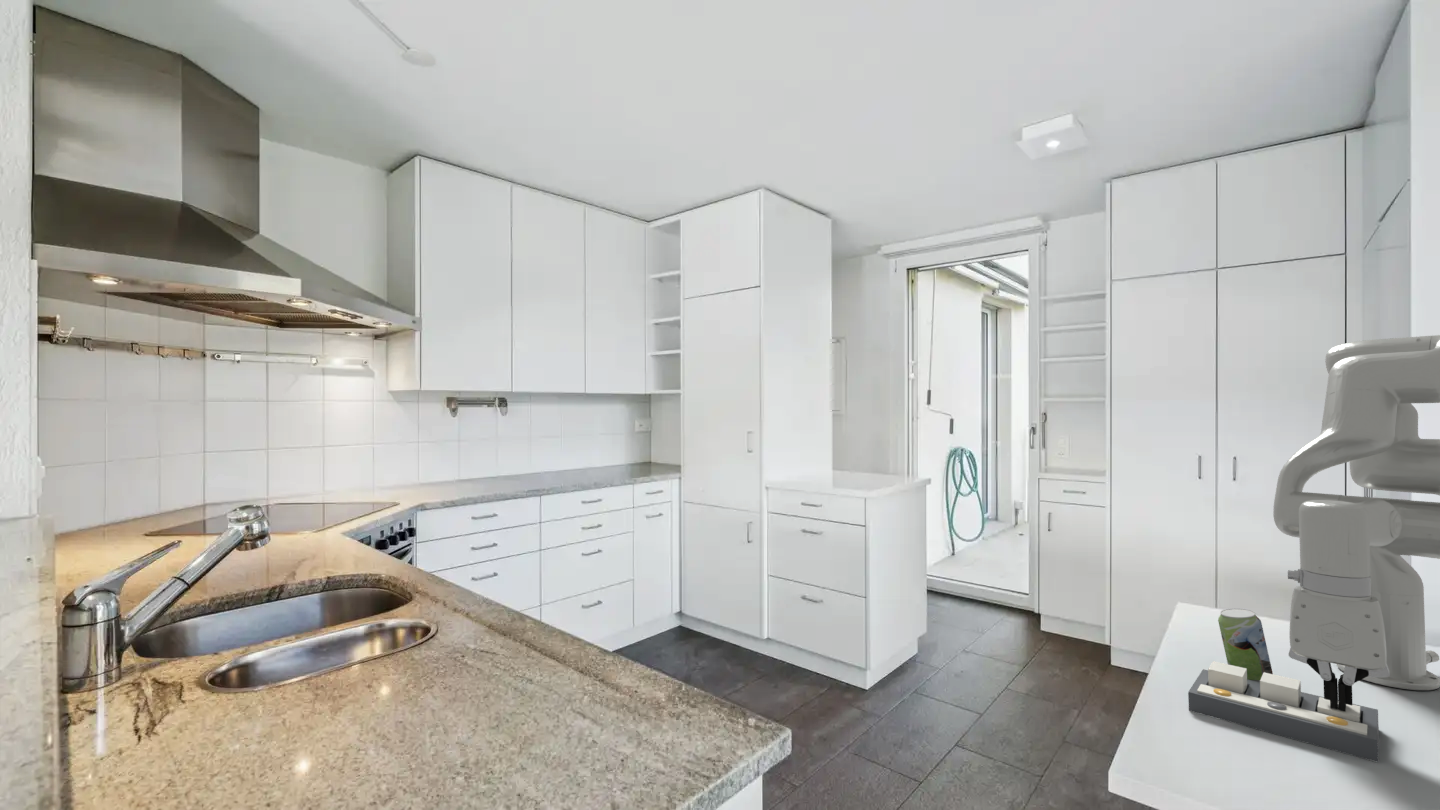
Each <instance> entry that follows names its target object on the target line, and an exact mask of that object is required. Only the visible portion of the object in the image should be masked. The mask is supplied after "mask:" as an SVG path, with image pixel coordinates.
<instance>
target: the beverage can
mask: <svg viewBox="0 0 1440 810" xmlns="http://www.w3.org/2000/svg"><path fill="white" fill-rule="evenodd" d="M1217 622H1218V626H1219V630H1220V631H1219V632H1220V634H1221V640H1222V644H1223V648H1224V653H1225V657H1226V662H1227V663H1226V664H1228V665H1233V666H1237V667H1242V668H1247V679H1248V680H1252V681H1256V682H1260V680H1261V677H1262V675H1263V672H1265V673H1269V674H1274V673H1273V668H1272V664H1271V659H1270V655H1269V651H1268V646H1267V642H1266V638H1265V632H1264V628H1263V623H1262V621H1261V619H1260V618H1259V617H1258V616H1257V615H1256V613H1255V612H1254V611H1252V610H1250V609H1245V608H1244V609H1243V608H1228V609H1223V610H1221V611H1220V615H1219V616H1218V620H1217Z"/></svg>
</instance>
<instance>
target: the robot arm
mask: <svg viewBox="0 0 1440 810" xmlns="http://www.w3.org/2000/svg"><path fill="white" fill-rule="evenodd" d="M1324 360H1325V366H1326V367H1325V368H1326V371H1327V373H1328V378H1327V384H1326V391H1325V398H1324V405H1323V413H1322V414H1323V415H1322V420H1321V429H1320V430H1321V431H1320V434H1319V435H1318V436H1317V437H1316V438H1314V439H1313V440H1311V441H1310V442H1308V443H1307V444H1305V445H1304V446H1302V447H1301V448H1300V449H1298V450H1297V451H1296V452H1295V453H1293V454H1292V455H1291V457H1290V458H1288V460H1286V462H1285V464H1284V465H1283V466H1282V468H1281V470H1280V471H1279V475H1278V479H1277V483H1276V488H1275V494H1274V499H1273V500H1274V501H1273V513H1272V514H1273V522H1274V524H1275V526H1276V528H1277V529H1278V531H1280V532H1281V533H1283V534H1285V535H1287V536H1289V537H1292V538H1293V537H1294V538H1299V561H1300V563H1299V565H1300V568H1298V569H1297V570H1290V569H1289V570H1288V571H1287V579H1288V580H1294V582H1295V581H1296V582H1297V583H1298V584H1299V585H1298V586H1296V587H1294V588H1293V592H1292V596H1291V602H1290V608H1289V609H1290V613H1289V646H1290V647H1289V651H1288V657H1289V658H1290V659H1292V660H1294V661H1297V662H1300V663H1303V664H1307V665H1308V666H1309V667H1310V668H1311V669H1312V670H1313V671H1315V672H1316V673H1317V674H1318V675H1319V677H1320V678H1321V679H1322V680H1323V681H1322V682H1323V697H1324V699H1326V700H1330V708H1332V709H1335V708H1336V709H1337V706H1339V709H1340V710H1341V711H1346V704H1348V705H1352V704H1353V685H1354V684H1355V683H1357V682H1359V681H1361V680H1363V681H1366V682H1369V683H1373V684H1376V685H1381V686H1386V687H1391V688H1397V689H1401V690H1410V691H1411V690H1412V691H1434V690H1436V689H1439V688H1440V678H1439V677H1438V676H1437V675H1436V674H1434V673H1433V672H1431V671H1428V670H1427V665H1428V664H1430V663H1435V662H1438V661H1439V660H1440V656H1439V654H1438V653H1437V652H1436V651H1434V650H1427V649H1426V629H1425V628H1426V621H1425V620H1426V619H1425V615H1426V614H1425V593H1424V592H1425V587H1424V586H1425V585H1424V582H1423V578H1421V576H1420V574H1419V573H1418V571H1416V570H1415V568H1414V567H1413V566H1412V565H1410V563H1409V562H1407V560H1405V559H1404V558H1403V556H1408V557H1410V556H1414V557H1422V558H1431V559H1438V560H1440V502H1439V501H1437V502H1436V501H1435V502H1434V501H1426V500H1425V501H1423V500H1421V501H1420V500H1412V499H1404V498H1403V499H1402V498H1401V499H1400V498H1399V499H1398V498H1387V497H1386V498H1385V497H1371V496H1370V497H1369V496H1359V495H1356V496H1355V495H1343V494H1333V493H1319V492H1308V491H1307V492H1306V491H1304V492H1303V490H1304V487H1305V485H1306V483H1307V482H1308V481H1309V480H1310V479H1311V478H1312V477H1313V476H1315V475H1317V474H1319V473H1320V472H1322V471H1325V470H1327V469H1329V468H1332V467H1336V466H1338V465H1339V466H1340V465H1343V464H1346V463H1349V472H1350V476H1351V479H1352V481H1353V482H1354V483H1355V484H1356V485H1357V486H1359V487H1362V488H1363V489H1369V490H1370V489H1371V490H1375V491H1376V490H1377V491H1386V492H1387V491H1388V492H1400V493H1410V494H1411V493H1412V494H1415V493H1416V494H1425V495H1426V494H1429V495H1436V496H1440V439H1439V438H1420V436H1419V414H1418V413H1419V412H1418V410H1417V409H1416V407H1415V406H1414V405H1413V404H1439V403H1440V334H1436V335H1422V336H1421V335H1419V336H1408V337H1395V338H1394V337H1393V338H1379V339H1366V340H1357V341H1351V342H1346V343H1342V344H1337V345H1335V346H1333V347H1331V348H1330V349H1329V350H1328V351H1327V353H1326V355H1325V359H1324ZM1332 664H1335V665H1336V666H1337V668H1338V669H1339V670H1341V671H1342V672H1343V673H1342V674H1340V675H1339V676H1340V677H1339V678H1337V677H1336V673H1334V672H1333V668H1332Z"/></svg>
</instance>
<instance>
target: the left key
mask: <svg viewBox="0 0 1440 810" xmlns="http://www.w3.org/2000/svg"><path fill="white" fill-rule="evenodd" d="M1207 670H1208V682H1209V686H1213V687H1217V688H1221V689H1225V690H1229V691H1233V692H1237V693H1242V694H1244V693H1245V691H1246V689H1247V668H1242V667H1237V666H1233V665H1228V663H1223V662H1219V661H1214V660H1213V661H1212V662H1211V663H1210V665H1209V667H1208V669H1207Z"/></svg>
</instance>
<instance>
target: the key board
mask: <svg viewBox="0 0 1440 810" xmlns="http://www.w3.org/2000/svg"><path fill="white" fill-rule="evenodd" d="M1187 694H1188V695H1187V696H1188V711H1189V712H1194V713H1197V714H1201V715H1204V716H1208V717H1212V718H1215V719H1219V720H1222V721H1224V722H1225V721H1226V722H1229V723H1233V724H1237V725H1240V726H1244V727H1248V728H1251V729H1255V730H1258V731H1263V732H1266V733H1270V734H1274V735H1276V736H1280V737H1285V738H1289V739H1292V740H1294V741H1299V742H1303V743H1306V744H1308V745H1313V746H1317V747H1321V748H1325V749H1329V750H1331V751H1336V752H1339V753H1342V754H1347V755H1350V756H1354V757H1358V758H1361V759H1364V760H1368V761H1372V762H1375V763H1376V762H1377V763H1379V736H1380V735H1379V731H1380V729H1379V709H1377V708H1373V707H1368V706H1364V705H1359V704H1355V703H1352V705H1357V706H1360V715H1361V723H1360V722H1356V721H1352V720H1348V719H1344V718H1339V717H1335V716H1331V715H1327V714H1323V713H1319V712H1318V710H1317V706H1318V701H1319V697H1322V698H1324V696H1321V695H1317V694H1312V693H1308V692H1303V691H1301V702H1300V706H1299V707H1295V706H1291V705H1286V704H1282V703H1278V702H1274V701H1270V700H1266V699H1262V698H1260V682H1256V681H1252V680H1248V679H1247V689H1246V691H1245V693H1244V694H1242V693H1237V692H1233V691H1229V690H1225V689H1221V688H1217V687H1213V686H1209V682H1208V669H1204V668H1203V669H1202V670H1201V672H1199V675H1198V676H1197V677H1196V679H1195V681H1193V684H1192V685H1191V686H1190V689H1189V690H1188V693H1187Z"/></svg>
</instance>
